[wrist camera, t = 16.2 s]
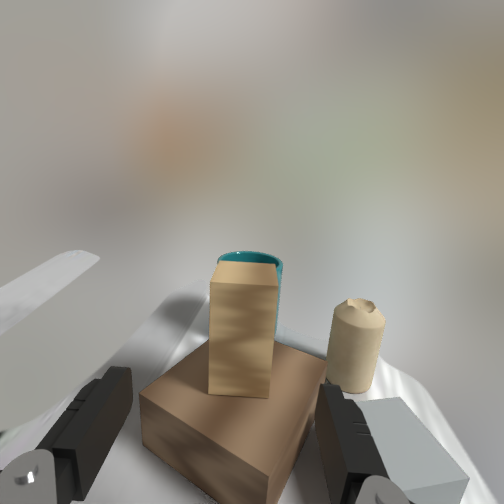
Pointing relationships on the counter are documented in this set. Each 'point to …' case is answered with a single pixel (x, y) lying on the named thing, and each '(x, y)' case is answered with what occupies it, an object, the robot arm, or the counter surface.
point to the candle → (354, 345)
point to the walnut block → (233, 426)
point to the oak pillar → (242, 328)
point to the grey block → (413, 454)
